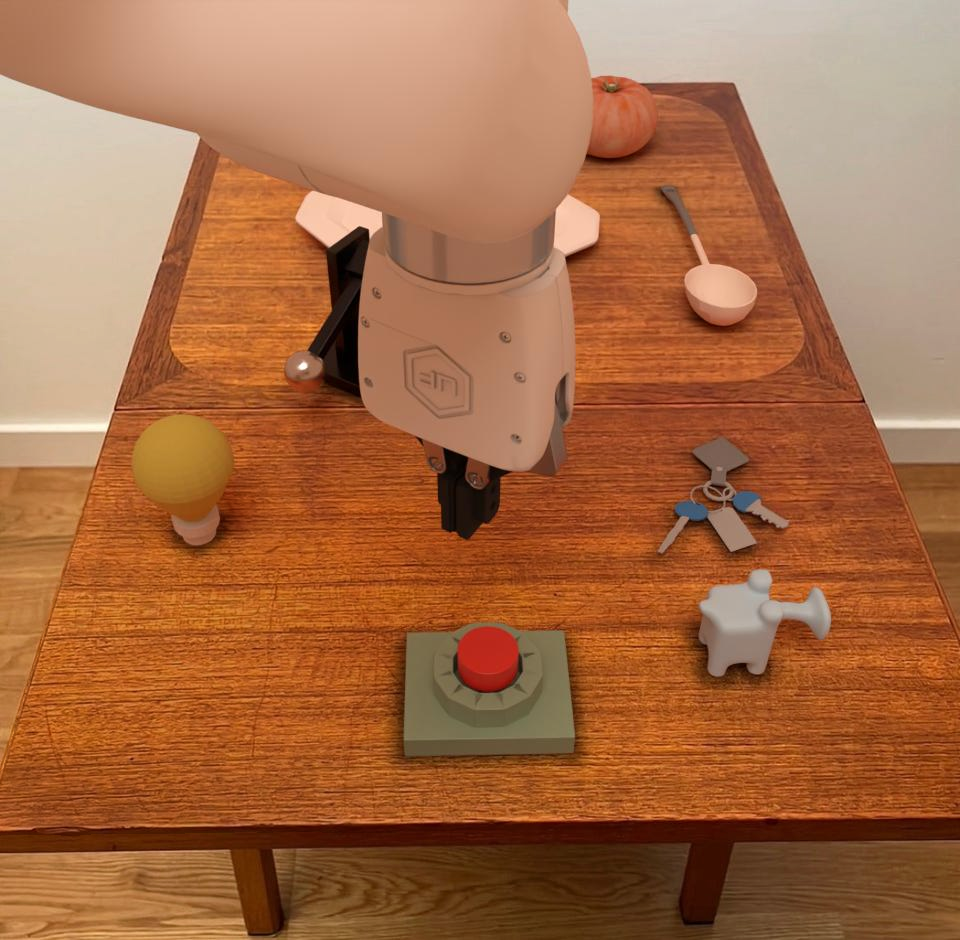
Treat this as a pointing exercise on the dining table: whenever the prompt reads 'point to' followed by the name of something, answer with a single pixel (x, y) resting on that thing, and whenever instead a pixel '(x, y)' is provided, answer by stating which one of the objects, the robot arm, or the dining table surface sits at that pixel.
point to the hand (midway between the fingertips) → (468, 519)
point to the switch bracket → (345, 348)
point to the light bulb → (184, 472)
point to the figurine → (753, 622)
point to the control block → (487, 699)
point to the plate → (341, 217)
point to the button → (488, 658)
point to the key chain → (723, 499)
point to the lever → (327, 331)
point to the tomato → (620, 117)
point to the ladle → (713, 280)
